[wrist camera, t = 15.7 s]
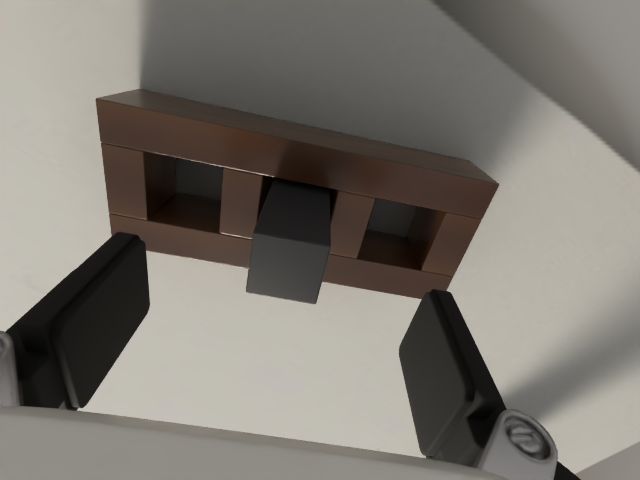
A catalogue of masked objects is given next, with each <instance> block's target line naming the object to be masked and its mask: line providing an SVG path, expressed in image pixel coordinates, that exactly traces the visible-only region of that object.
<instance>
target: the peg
mask: <svg viewBox="0 0 640 480" xmlns="http://www.w3.org/2000/svg"><path fill="white" fill-rule="evenodd" d="M330 249H331V228H330V194H329V188H326V187H321V186H316V185H311V184H306V183H301V182H296V181H291V180H286V179H281V178H276V177H275V178H274V180H273V183H272V185H271V188H270V190H269V193H268V196H267V198H266V201H265V203H264V206H263V208H262V211H261V213H260V216H259V219H258V221H257V224H256V226H255V229H254V231H253V238H252V246H251V254H250V262H249V270H248V278H247V286H246V292H247V293H251V294H257V295H263V296H269V297H275V298H281V299H286V300H292V301H298V302H304V303H310V304H316V302H317V298H318V295H319V291H320V287H321V283H322V279H323V275H324V272H325V268H326V264H327V260H328V256H329V253H330Z"/></svg>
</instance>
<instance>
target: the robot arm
mask: <svg viewBox="0 0 640 480" xmlns="http://www.w3.org/2000/svg"><path fill="white" fill-rule="evenodd" d="M149 306H150V299H149V286H148V272H147V258H146V245H145V242H144V241H143V240H140V237H139V236H138V235H136V234H130V233H125V232H117V233H115V234H114V235H113V236H112V237H111V238H110V239H109V240H108V241H106V242H105V243H104V244H103V245H102V246H101V247H100V248H99V249H98V250H97V251H95V252H94V253H93V254H92V255H91V256H90V257H89V258H88V259H87V260H86V261H84V262H83V263H82V264H81V265H80V266H79V267H78V268H77V269H75V270H74V271H72V272H71V273H70V274H69V275H68V276H67V277H66V278H64V279H63V280H62V281H61V282H60V283H59V284H58V285H57V286H56V287H55V288H53V289H52V290H51V291H50V292H49V293H48V294H47V295H46V296H45V297H43V298H42V299H41V300H40V301H39V302H38V303H37V304H36V305H35V306H34V307H32V308H31V309H30V310H29V311H28V312H27V313H26V314H25V315H24V316H22V317H21V318H20V319H19V320H18V321H17V322H16V323H15V324H14V325H13V326H11V327H10V328H9V329H8V330H7V331H6V332H4V331H0V480H580V479H579V478H578V477H577V476H576V475H574V474H573V473H572V472H571V471H569V470H568V469H567V468H566V467H565V466H563V465H562V464H561V463H560V462H558V461H557V459H558V451H557V448H556V445H555V443H554V441H553V439H552V438H551V436H550V434H549V433H548V432H547V431H546V429H545V428H544V427H543V426H542V425H541V424H540V423H539V422H537V421H536V420H535V419H534V418H532V417H531V416H529V415H527V414H526V413H524V412H521V411H518V410H513V409H506V407H505V405H504V402H503V400H502V398H501V396H500V393H499V391H498V389H497V387H496V385H495V383H494V381H493V379H492V377H491V375H490V373H489V371H488V369H487V366H486V364H485V362H484V360H483V358H482V356H481V354H480V352H479V350H478V348H477V346H476V344H475V341H474V339H473V337H472V335H471V333H470V331H469V329H468V327H467V325H466V323H465V321H464V319H463V316H462V314H461V312H460V310H459V308H458V306H457V304H456V302H455V300H454V298H453V296H452V294H451V293H450V292H448V291H442V290H437V289H432V290H431V291H430V293H429V292H426V293H425V294H424V296H423V298H422V300H421V302H420V305H419V307H418V309H417V311H416V313H415V315H414V317H413V319H412V321H411V323H410V325H409V328H408V330H407V332H406V334H405V336H404V338H403V340H402V342H401V344H400V348H399V357H400V362H401V366H402V371H403V375H404V380H405V384H406V389H407V393H408V398H409V402H410V407H411V411H412V416H413V420H414V425H415V429H416V434H417V439H418V443H419V448H420V451H421V453H422V454H423V455H426V459H425V458H419V457H413V456H407V455H401V454H394V453H387V452H380V451H373V450H366V449H359V448H352V447H345V446H338V445H331V444H324V443H317V442H310V441H303V440H296V439H288V438H281V437H274V436H267V435H259V434H252V433H245V432H237V431H230V430H223V429H216V428H208V427H201V426H193V425H186V424H178V423H170V422H163V421H155V420H148V419H140V418H133V417H125V416H117V415H109V414H100V413H91V412H83V411H77V409H78V408H83V407H84V406H86V405H87V403H88V402H89V400H90V399H91V397H92V396H93V394H94V393H95V391H96V390H97V388H98V387H99V385H100V384H101V382H102V381H103V379H104V378H105V376H106V375H107V373H108V372H109V370H110V369H111V367H112V366H113V364H114V363H115V361H116V360H117V358H118V357H119V355H120V354H121V352H122V351H123V349H124V348H125V346H126V345H127V343H128V342H129V340H130V339H131V337H132V336H133V334H134V333H135V331H136V330H137V328H138V327H139V325H140V324H141V322H142V321H143V319H144V318H145V316H146V314H147V313H148V310H149Z"/></svg>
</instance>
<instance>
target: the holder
mask: <svg viewBox="0 0 640 480" xmlns="http://www.w3.org/2000/svg"><path fill="white" fill-rule="evenodd" d="M96 106H97V115H98V123H99V132H100V140H101V142H102V143H101V147H102V156H103V165H104V173H105V182H106V190H107V199H108V208H109V213H110V214H109V217H110V226H111V234H112V236H113V235H114V234H115V233H117V232H125V233H130V234H136V235H138V236H139V237H140V240H143V241H144V242H145V245H146V251H151V252H156V253H162V254H168V255H173V256H179V257H185V258H191V259H196V260H202V261H208V262H213V263H219V264H225V265H230V266H236V267H242V268H247V269H249V262H250V254H251V246H252V238H253V231H254V229H255V226H256V224H257V221H258V219H259V216H260V213H261V211H262V208H263V206H264V203H265V201H266V198H267V196H268V193H269V186H270V178H271V177H276V178H281V179H286V180H291V181H296V182H301V183H306V184H311V185H316V186H321V187H326V188H331V190H330V228H331V249H330V253H329V256H328V260H327V264H326V268H325V272H324V275H323V279H322V282H327V283H333V284H339V285H344V286H350V287H356V288H361V289H367V290H373V291H378V292H384V293H390V294H396V295H401V296H407V297H413V298H418V299H422V298H423V296H424V294H425V293H426V292H429V293H430V291H431V290H432V289H437V290H442V291H446V290H447V288H448V286H449V284H450V282H451V280H452V278H453V276H454V274H455V272H456V270H457V268H458V266H459V264H460V262H461V260H462V258H463V256H464V254H465V252H466V250H467V248H468V246H469V244H470V242H471V240H472V238H473V236H474V234H475V232H476V230H477V228H478V226H479V224H480V222H481V220H482V218H483V216H484V214H485V212H486V210H487V208H488V206H489V204H490V202H491V200H492V198H493V196H494V194H495V192H496V190H497V188H498V186H499V183H497V182H496V181H495V180H493V179H492V178H491V177H490V176H488V175H487V174H486V173H484V172H483V171H482V170H481V169H479V168H478V167H477V166H475V165H474V164H473V163H472V162H470V161H468V160H463V159H459V158H454V157H449V156H445V155H440V154H436V153H431V152H426V151H422V150H417V149H413V148H408V147H403V146H399V145H394V144H390V143H385V142H380V141H376V140H371V139H367V138H362V137H357V136H353V135H348V134H344V133H339V132H334V131H330V130H325V129H321V128H316V127H311V126H307V125H302V124H298V123H293V122H288V121H284V120H279V119H275V118H270V117H265V116H261V115H256V114H252V113H247V112H242V111H238V110H233V109H229V108H224V107H219V106H215V105H210V104H206V103H201V102H196V101H192V100H187V99H183V98H178V97H173V96H169V95H164V94H160V93H155V92H150V91H146V90H141V89H137V90H132V91H127V92H123V93H118V94H114V95H109V96H104V97H100V98H96ZM175 157H177V158H182V159H187V160H192V161H197V162H202V163H207V164H212V165H217V166H222V167H224V168H223V180H222V195H221V202H220V201H215V200H209V199H204V198H199V197H194V196H189V195H183V194H178V193H175V192H176V184H175ZM376 198H380V199H385V200H390V201H395V202H400V203H405V204H410V205H415V206H419V207H418V209H417V212H416V214H415V217H414V220H413V222H412V225H411V227H410V230H409V233H408V235H407V237H402V236H397V235H392V234H386V233H381V232H376V231H371V230H366V228H367V225H368V222H369V219H370V215H371V212H372V209H373V206H374V203H375V199H376Z"/></svg>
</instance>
